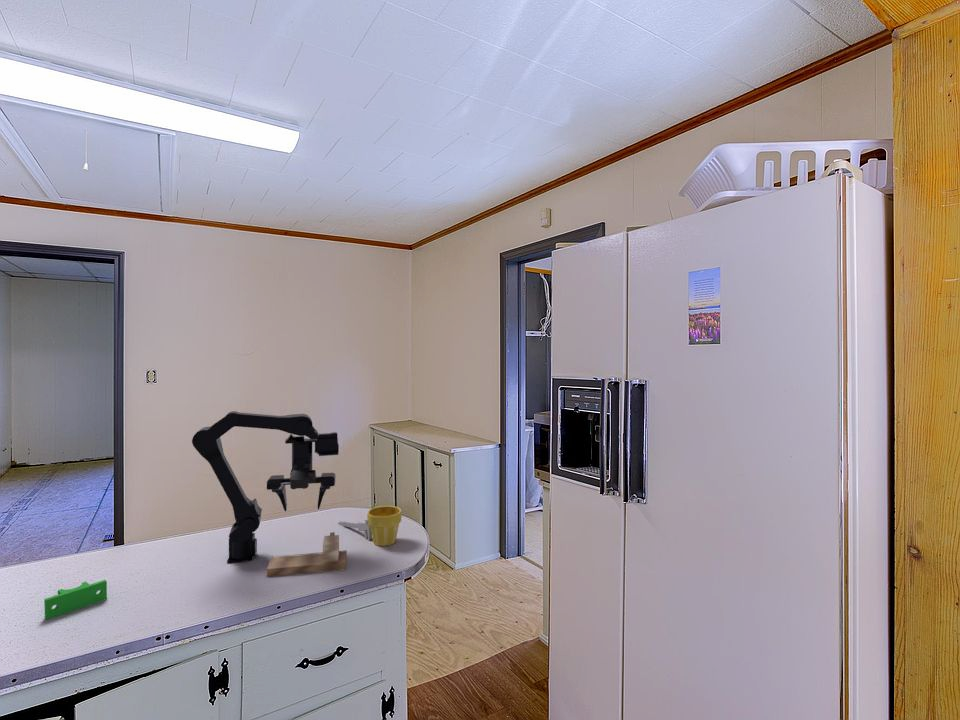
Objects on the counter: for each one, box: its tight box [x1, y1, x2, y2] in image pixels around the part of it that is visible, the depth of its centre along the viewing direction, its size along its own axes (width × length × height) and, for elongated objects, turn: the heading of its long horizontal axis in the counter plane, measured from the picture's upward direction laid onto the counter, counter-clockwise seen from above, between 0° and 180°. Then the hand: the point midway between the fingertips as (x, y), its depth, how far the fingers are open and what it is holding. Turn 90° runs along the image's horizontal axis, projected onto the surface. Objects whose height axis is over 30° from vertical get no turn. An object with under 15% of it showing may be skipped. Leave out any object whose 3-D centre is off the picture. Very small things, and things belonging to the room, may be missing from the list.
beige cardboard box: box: [322, 531, 340, 563], centre depth 139 cm, size 4×9×5 cm, turn 13°
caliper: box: [337, 519, 373, 541], centre depth 162 cm, size 20×1×6 cm, turn 43°
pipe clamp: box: [43, 579, 108, 621], centre depth 114 cm, size 11×4×5 cm, turn 145°
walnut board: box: [266, 549, 348, 578], centre depth 136 cm, size 20×8×2 cm, turn 103°
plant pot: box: [366, 505, 403, 547], centre depth 153 cm, size 10×10×10 cm
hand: (302, 509), depth 147 cm, fingers open, 9 cm apart
